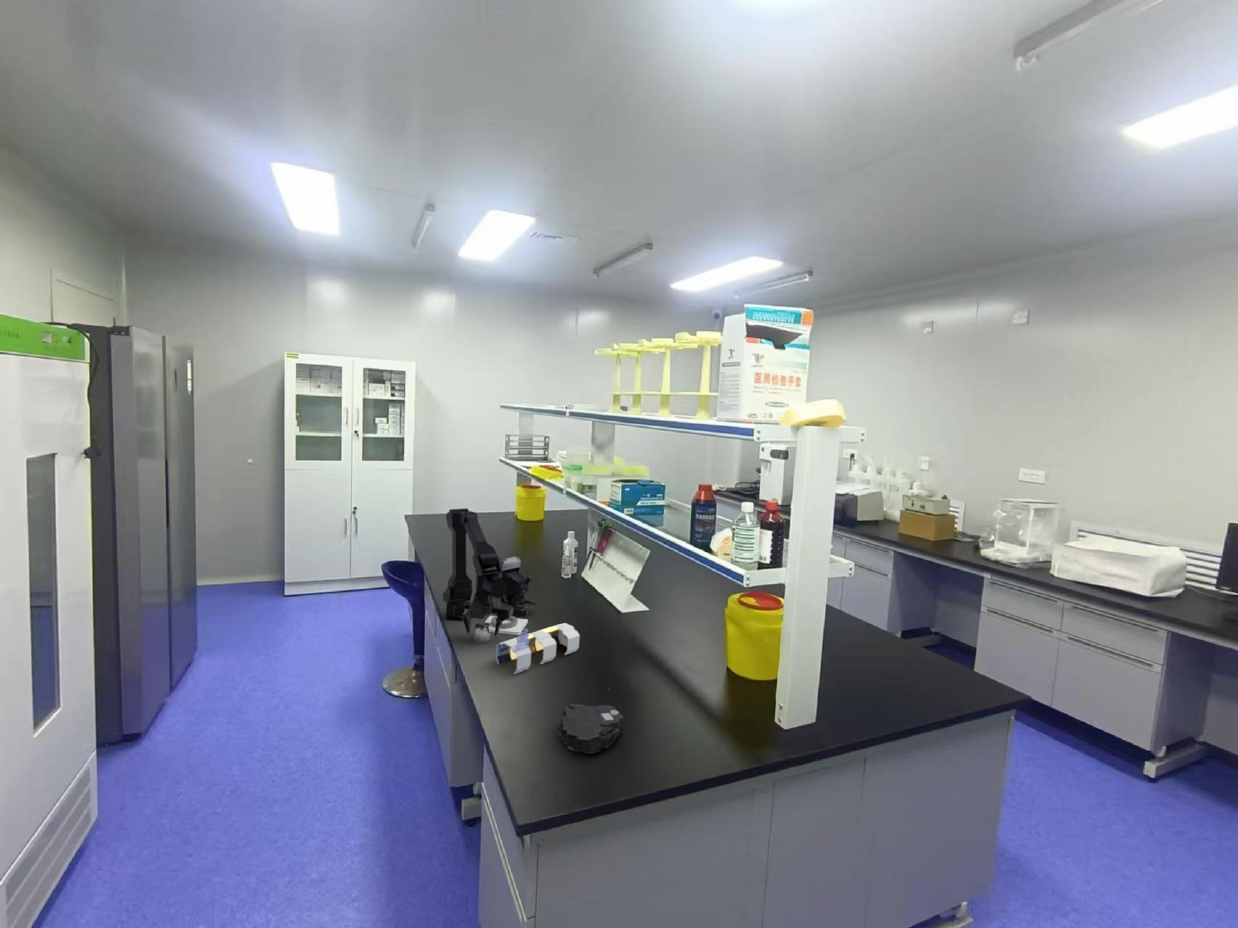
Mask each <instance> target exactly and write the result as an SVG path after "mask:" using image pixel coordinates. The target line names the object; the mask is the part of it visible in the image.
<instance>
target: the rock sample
mask: <svg viewBox="0 0 1238 928" xmlns="http://www.w3.org/2000/svg"><path fill="white" fill-rule="evenodd" d="M562 711H563V713H562V714H561V717H560V719H559V724H560V726H559V729H560V730H558V732H559V731H560V733H561V737H562V738H563V740H564V741H565V742H566V743H567V744H568V745H567V746H571V747H572V748H574V749H577V750H578V751H579V752H578V751H577V752H578V753H581V752H590V753H589V754H595V753H599V752H601V751H600V750H602V748H603V747H605V746H607V745H608V744H610V743H612V742H613V741H614V740H616V739H618V737H619V736H618V734H619V733H621V732H622V733H623V730H624V727H623V724H624V721H625V720H624V716H623V715H622V714H621V712H620V711H618V710H617V709H616V708H615V707H614V706H612V705H606V704H605V705H596V706H594V705H593V706H588V705H584V704H573V703H572V704H571V703H569V704H567V705H565V706H564V708H563V710H562ZM617 736H618V737H617ZM563 740H562V741H563ZM603 749H604V748H603Z"/></svg>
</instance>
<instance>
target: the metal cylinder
mask: <svg viewBox="0 0 1238 928" xmlns="http://www.w3.org/2000/svg"><path fill="white" fill-rule="evenodd" d="M490 626H491V625H490V624H489V623H487V622H485V621H480V622H477V623H476V624H475V625H474V638H473V639H474V641H475V642H477V643H485V642H488V641H490V640H491V632H490Z"/></svg>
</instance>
